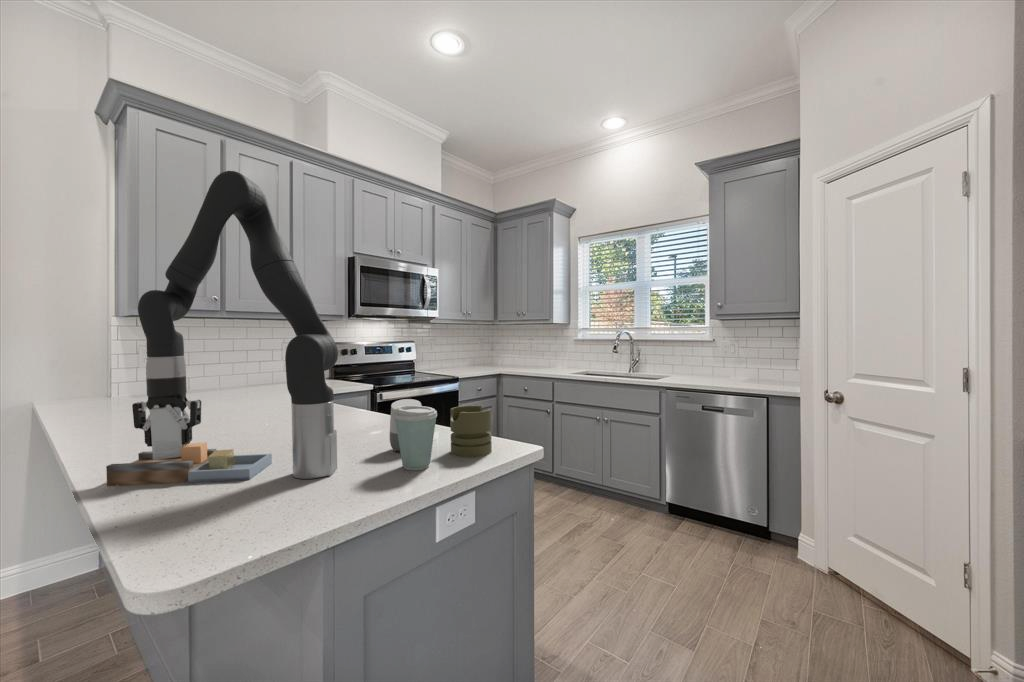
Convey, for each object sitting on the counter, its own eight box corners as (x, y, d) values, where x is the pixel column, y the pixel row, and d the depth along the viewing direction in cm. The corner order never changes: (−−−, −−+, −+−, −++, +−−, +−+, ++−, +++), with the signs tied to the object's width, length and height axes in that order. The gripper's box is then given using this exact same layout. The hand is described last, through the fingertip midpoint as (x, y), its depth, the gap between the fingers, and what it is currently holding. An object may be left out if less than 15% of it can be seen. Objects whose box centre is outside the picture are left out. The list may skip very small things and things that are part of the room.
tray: (271, 463, 117) (271, 453, 117) (249, 479, 104) (249, 468, 104) (217, 465, 116) (217, 456, 116) (188, 482, 103) (188, 471, 103)
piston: (461, 414, 118) (443, 408, 128) (462, 459, 119) (444, 450, 128) (498, 409, 125) (479, 404, 134) (499, 453, 125) (479, 444, 134)
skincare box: (186, 453, 112) (185, 403, 111) (183, 457, 108) (182, 406, 107) (155, 456, 109) (153, 406, 108) (150, 461, 105) (149, 409, 104)
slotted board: (216, 466, 115) (216, 448, 115) (189, 482, 103) (189, 462, 103) (143, 469, 113) (142, 451, 113) (107, 486, 101) (106, 466, 101)
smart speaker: (388, 455, 124) (388, 404, 123) (390, 447, 133) (390, 399, 132) (424, 453, 126) (423, 402, 125) (423, 445, 135) (423, 397, 134)
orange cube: (207, 458, 112) (206, 442, 112) (201, 462, 108) (200, 446, 108) (188, 459, 111) (188, 443, 110) (181, 464, 107) (181, 447, 107)
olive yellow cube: (217, 465, 112) (234, 464, 113) (209, 472, 108) (228, 471, 109) (215, 450, 111) (233, 449, 112) (208, 456, 107) (226, 455, 108)
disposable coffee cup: (433, 459, 120) (433, 402, 119) (442, 470, 110) (441, 408, 109) (392, 463, 116) (391, 405, 116) (397, 476, 106) (396, 412, 106)
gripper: (207, 373, 112) (209, 439, 113) (143, 374, 110) (146, 442, 111) (190, 376, 105) (192, 447, 105) (121, 378, 103) (124, 450, 103)
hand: (168, 444), depth 108 cm, fingers closed on skincare box, 7 cm apart
